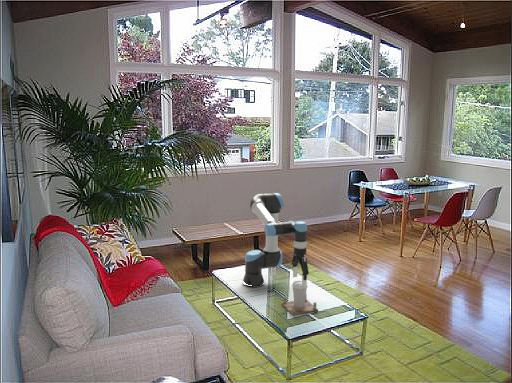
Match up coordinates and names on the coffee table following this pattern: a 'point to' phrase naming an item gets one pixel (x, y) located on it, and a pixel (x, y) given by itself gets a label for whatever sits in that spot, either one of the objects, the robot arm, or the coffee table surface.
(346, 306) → the coffee table surface
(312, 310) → the standoff base
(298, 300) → the coffee cup
